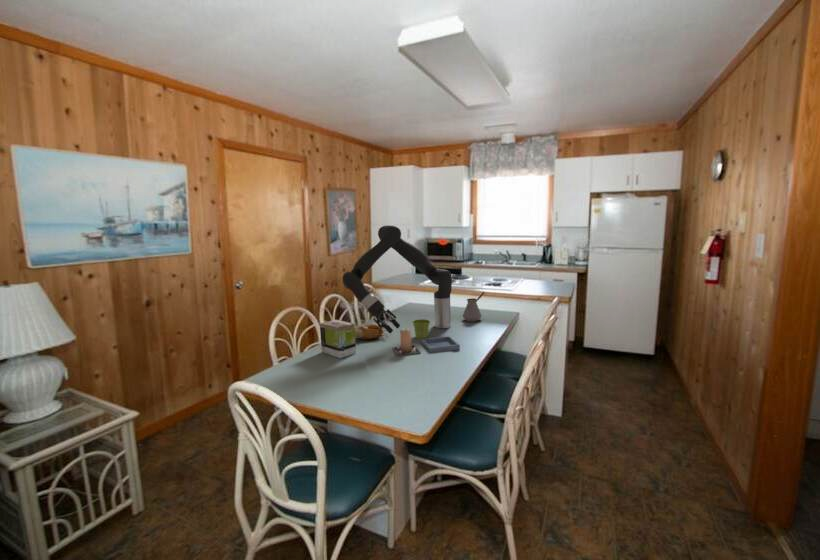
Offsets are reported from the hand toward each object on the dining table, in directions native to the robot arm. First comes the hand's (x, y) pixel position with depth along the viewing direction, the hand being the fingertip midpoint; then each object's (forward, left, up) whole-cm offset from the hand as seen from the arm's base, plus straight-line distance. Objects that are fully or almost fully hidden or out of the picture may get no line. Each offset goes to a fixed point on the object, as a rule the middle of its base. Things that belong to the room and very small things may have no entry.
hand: (395, 329), depth 187 cm
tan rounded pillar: (+3, +4, -10) cm, 11 cm away
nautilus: (-23, -8, -11) cm, 27 cm away
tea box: (-7, -27, -11) cm, 30 cm away
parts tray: (+3, +4, -11) cm, 12 cm away
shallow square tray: (+1, +22, -11) cm, 24 cm away
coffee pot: (-43, +59, -11) cm, 74 cm away
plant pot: (-17, +17, -11) cm, 26 cm away
